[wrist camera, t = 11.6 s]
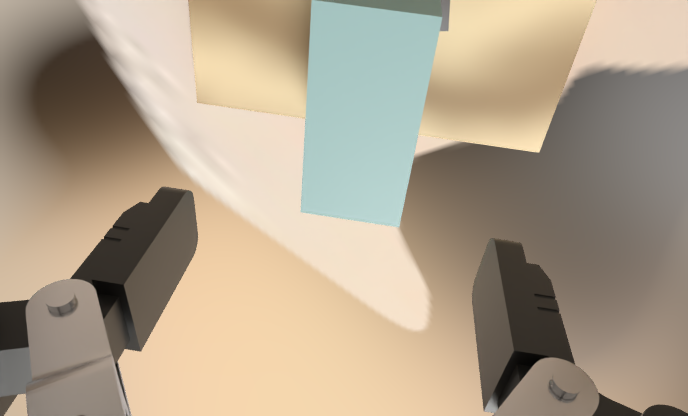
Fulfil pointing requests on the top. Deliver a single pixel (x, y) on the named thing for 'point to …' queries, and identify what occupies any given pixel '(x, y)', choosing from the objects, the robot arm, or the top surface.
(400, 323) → the top surface
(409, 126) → the block
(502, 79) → the board
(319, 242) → the top surface
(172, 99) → the top surface
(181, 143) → the top surface
